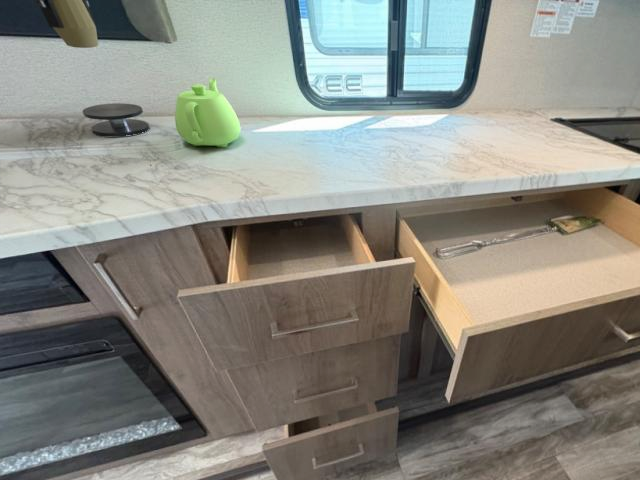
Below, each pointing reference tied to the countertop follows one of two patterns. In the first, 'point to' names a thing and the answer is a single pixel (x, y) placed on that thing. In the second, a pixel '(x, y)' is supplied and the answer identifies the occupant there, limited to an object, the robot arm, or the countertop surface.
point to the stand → (116, 119)
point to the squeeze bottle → (75, 24)
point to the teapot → (206, 117)
